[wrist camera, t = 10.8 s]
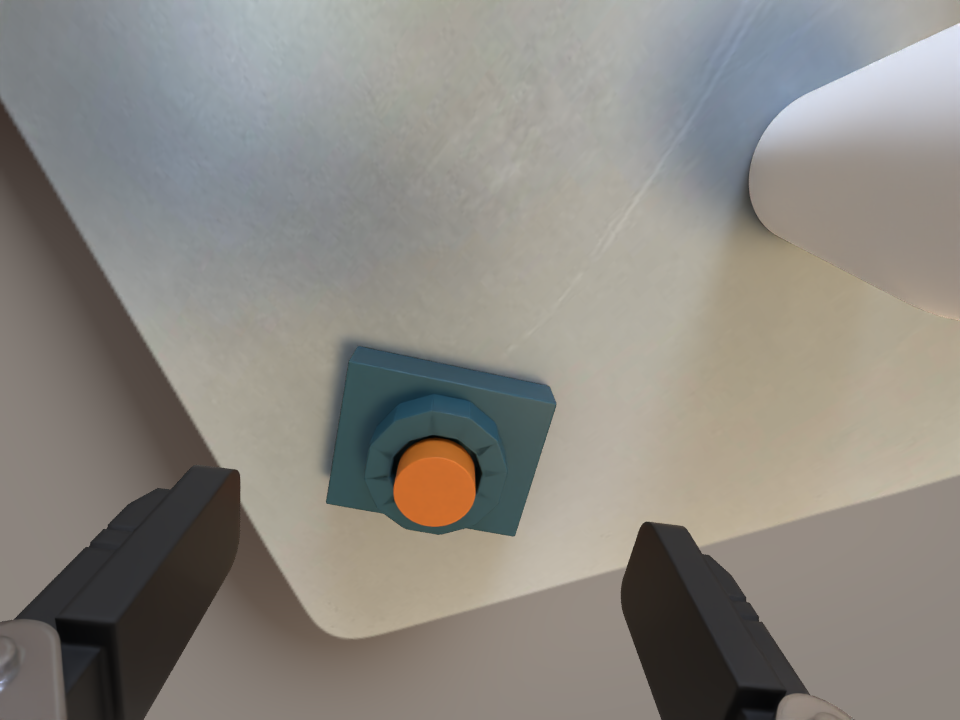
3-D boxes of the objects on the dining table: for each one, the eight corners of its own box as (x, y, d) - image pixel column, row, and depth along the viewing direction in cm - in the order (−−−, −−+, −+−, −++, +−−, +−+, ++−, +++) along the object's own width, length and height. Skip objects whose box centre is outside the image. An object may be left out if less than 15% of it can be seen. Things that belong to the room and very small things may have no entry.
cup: (954, 66, 22) (1460, -38, 11) (879, 275, 25) (1211, 361, 14) (750, 43, 22) (1061, -92, 10) (699, 259, 25) (895, 336, 13)
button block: (335, 479, 28) (315, 527, 25) (357, 345, 26) (339, 375, 22) (511, 511, 29) (518, 561, 26) (550, 385, 27) (564, 421, 23)
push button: (391, 496, 25) (386, 519, 23) (405, 430, 23) (401, 450, 22) (465, 509, 25) (465, 533, 23) (482, 445, 24) (484, 466, 22)
